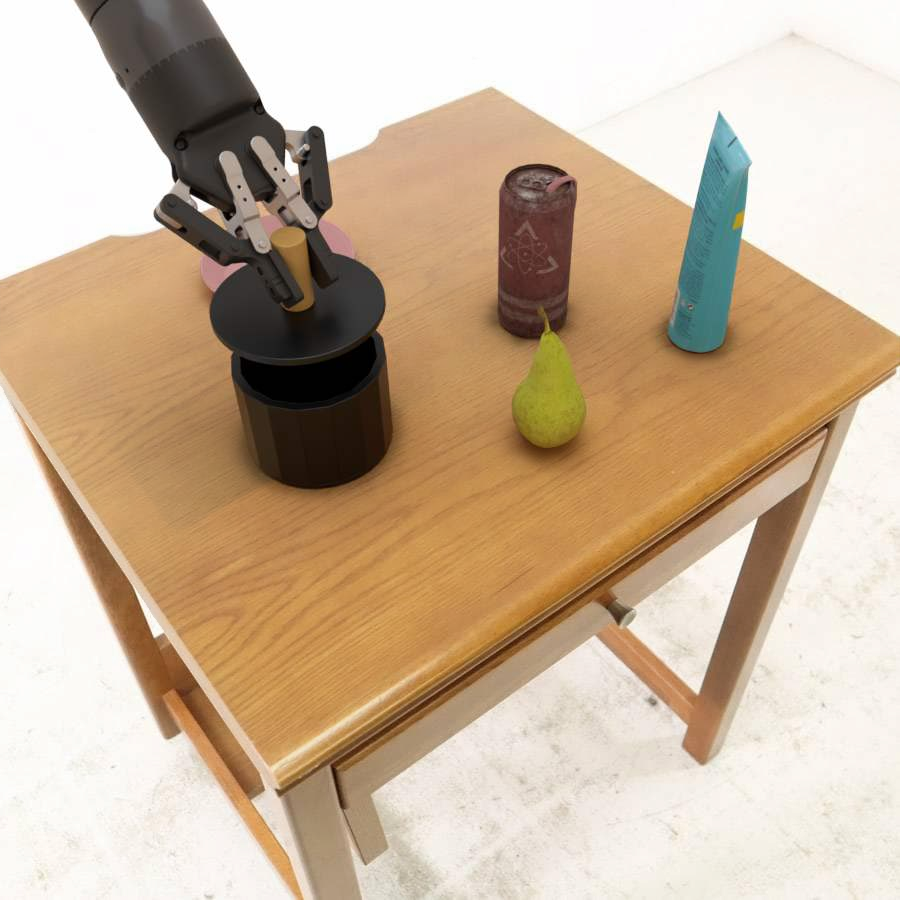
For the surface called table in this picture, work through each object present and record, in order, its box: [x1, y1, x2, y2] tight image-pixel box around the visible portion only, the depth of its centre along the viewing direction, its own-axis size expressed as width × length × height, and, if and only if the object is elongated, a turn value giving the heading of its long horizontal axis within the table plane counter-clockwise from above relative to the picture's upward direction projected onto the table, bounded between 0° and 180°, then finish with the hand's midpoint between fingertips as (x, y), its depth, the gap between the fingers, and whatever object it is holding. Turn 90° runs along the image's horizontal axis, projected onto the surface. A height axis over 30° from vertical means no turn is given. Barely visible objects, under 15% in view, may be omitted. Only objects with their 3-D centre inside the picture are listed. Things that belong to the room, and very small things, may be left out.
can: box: [497, 163, 578, 339], centre depth 89 cm, size 6×6×14 cm
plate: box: [199, 214, 356, 294], centre depth 99 cm, size 14×14×2 cm
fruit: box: [511, 306, 587, 449], centre depth 80 cm, size 6×6×12 cm
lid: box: [208, 226, 387, 366], centre depth 73 cm, size 12×12×7 cm
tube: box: [667, 110, 753, 353], centre depth 85 cm, size 7×5×19 cm, turn 13°
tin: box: [230, 329, 394, 490], centre depth 82 cm, size 11×11×8 cm
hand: (313, 292), depth 73 cm, fingers closed on lid, 2 cm apart
